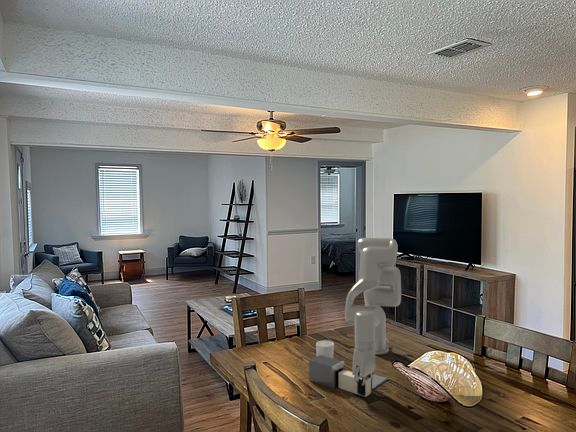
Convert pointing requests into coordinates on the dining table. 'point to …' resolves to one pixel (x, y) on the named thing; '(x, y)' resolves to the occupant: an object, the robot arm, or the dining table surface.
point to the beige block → (353, 383)
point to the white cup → (325, 348)
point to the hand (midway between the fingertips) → (364, 391)
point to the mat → (377, 380)
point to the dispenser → (325, 370)
